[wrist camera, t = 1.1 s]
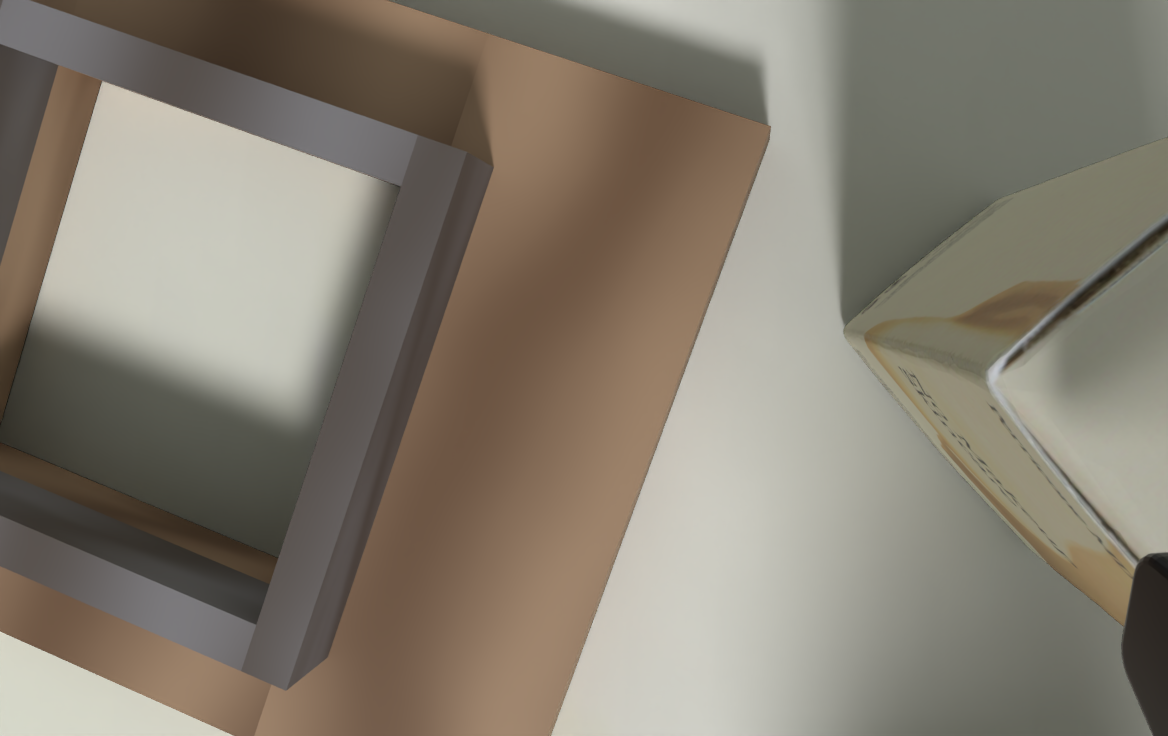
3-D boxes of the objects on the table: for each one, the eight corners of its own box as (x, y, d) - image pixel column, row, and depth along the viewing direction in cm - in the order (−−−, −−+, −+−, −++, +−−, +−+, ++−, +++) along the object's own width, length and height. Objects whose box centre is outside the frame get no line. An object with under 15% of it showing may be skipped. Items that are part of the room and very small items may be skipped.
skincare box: (833, 331, 21) (939, 352, 9) (1000, 191, 21) (1349, 19, 9) (1041, 568, 21) (1434, 911, 9) (1219, 433, 20) (1904, 607, 8)
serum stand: (769, 139, 21) (773, 106, 18) (519, 820, 23) (478, 910, 20) (-76, -140, 24) (-213, -216, 21) (-245, 484, 26) (-399, 510, 22)
